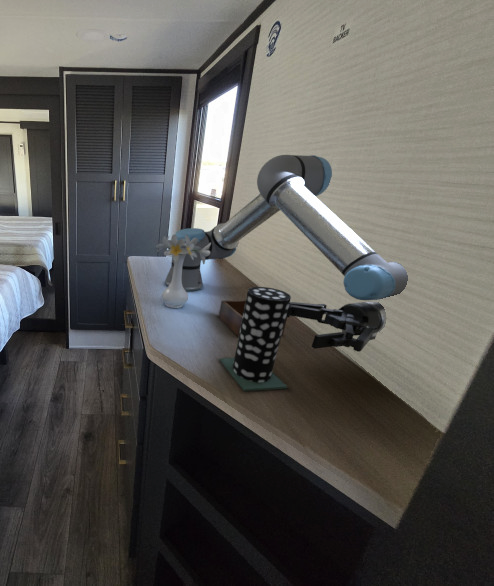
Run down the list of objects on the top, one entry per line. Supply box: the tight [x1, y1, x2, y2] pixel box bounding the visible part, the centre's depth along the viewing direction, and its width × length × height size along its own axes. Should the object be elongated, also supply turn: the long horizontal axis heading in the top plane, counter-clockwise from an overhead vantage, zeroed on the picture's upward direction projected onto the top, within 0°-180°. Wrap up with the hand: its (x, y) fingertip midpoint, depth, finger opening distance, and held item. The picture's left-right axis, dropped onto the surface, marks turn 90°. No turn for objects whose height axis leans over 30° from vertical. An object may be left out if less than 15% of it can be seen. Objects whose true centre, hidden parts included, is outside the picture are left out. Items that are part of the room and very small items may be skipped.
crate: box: [218, 299, 288, 337], centre depth 97 cm, size 14×14×6 cm
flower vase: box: [154, 234, 211, 309], centre depth 108 cm, size 13×18×25 cm
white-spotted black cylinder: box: [233, 286, 292, 382], centre depth 71 cm, size 8×8×20 cm
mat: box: [219, 357, 288, 392], centre depth 74 cm, size 12×10×1 cm
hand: (288, 326), depth 69 cm, fingers open, 13 cm apart
